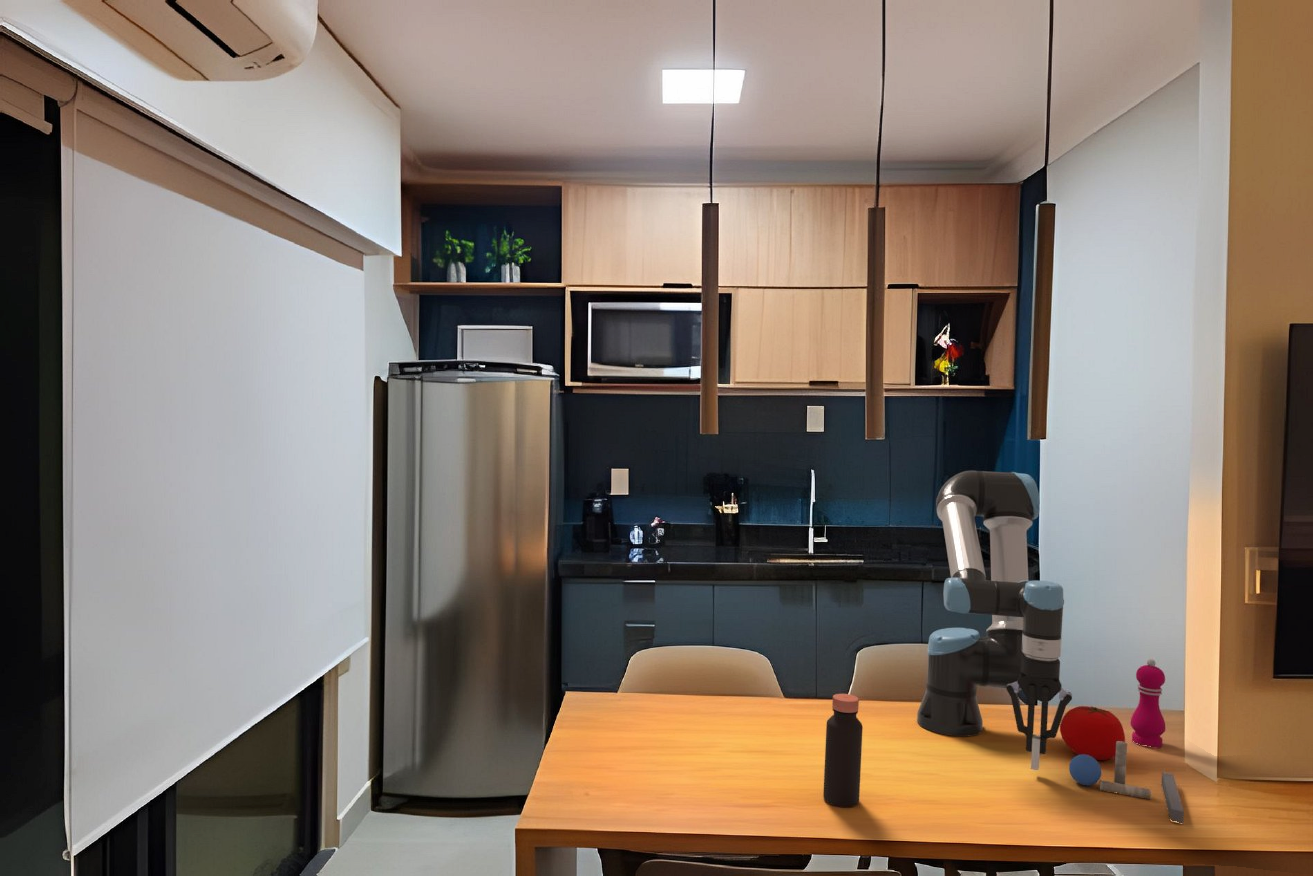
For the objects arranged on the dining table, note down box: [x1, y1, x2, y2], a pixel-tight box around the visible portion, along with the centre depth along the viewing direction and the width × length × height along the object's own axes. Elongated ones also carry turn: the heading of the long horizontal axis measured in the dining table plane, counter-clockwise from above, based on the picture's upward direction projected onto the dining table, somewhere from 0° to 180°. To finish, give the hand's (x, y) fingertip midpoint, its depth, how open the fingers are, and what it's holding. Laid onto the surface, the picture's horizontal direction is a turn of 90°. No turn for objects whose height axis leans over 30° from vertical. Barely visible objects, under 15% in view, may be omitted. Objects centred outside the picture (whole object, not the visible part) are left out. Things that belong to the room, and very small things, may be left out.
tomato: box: [1059, 705, 1126, 761], centre depth 198 cm, size 12×13×11 cm
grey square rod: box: [1160, 771, 1185, 824], centre depth 174 cm, size 2×20×2 cm, turn 154°
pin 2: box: [1099, 779, 1152, 800], centre depth 178 cm, size 2×2×9 cm
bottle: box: [822, 693, 864, 808], centre depth 169 cm, size 7×7×20 cm
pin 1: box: [1113, 741, 1128, 785], centre depth 182 cm, size 2×2×9 cm
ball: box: [1068, 754, 1102, 786], centre depth 182 cm, size 6×6×6 cm
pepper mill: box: [1130, 658, 1166, 748], centre depth 207 cm, size 7×7×20 cm
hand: (1034, 767), depth 185 cm, fingers closed
